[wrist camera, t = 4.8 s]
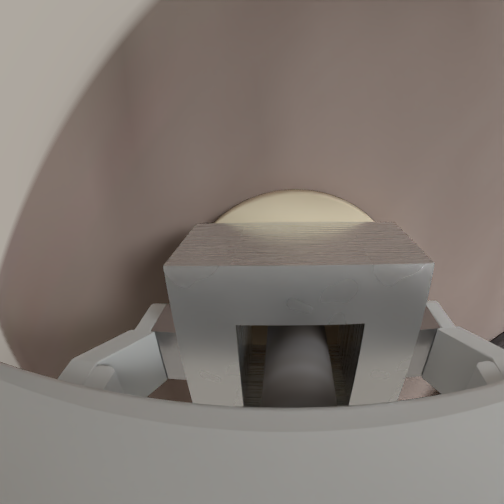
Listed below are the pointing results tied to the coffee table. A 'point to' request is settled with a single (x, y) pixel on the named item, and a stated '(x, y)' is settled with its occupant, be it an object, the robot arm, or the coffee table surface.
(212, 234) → the square tunnel block
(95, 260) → the coffee table surface
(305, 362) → the stand
